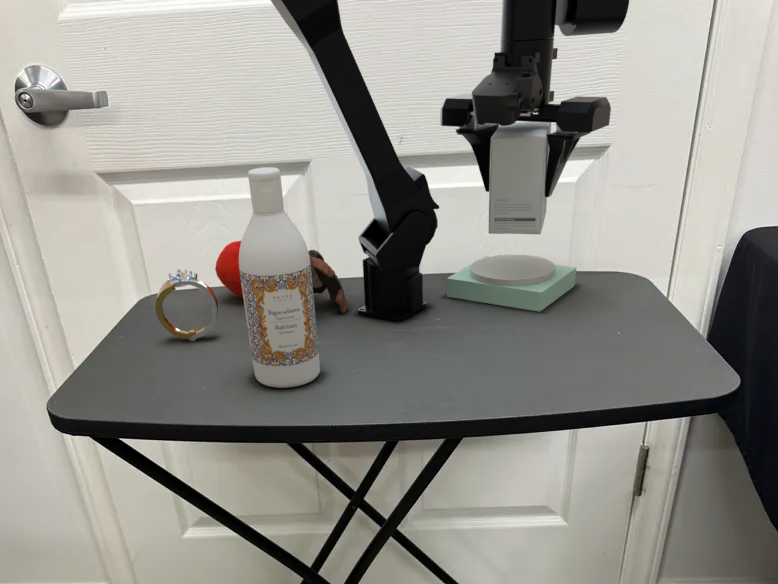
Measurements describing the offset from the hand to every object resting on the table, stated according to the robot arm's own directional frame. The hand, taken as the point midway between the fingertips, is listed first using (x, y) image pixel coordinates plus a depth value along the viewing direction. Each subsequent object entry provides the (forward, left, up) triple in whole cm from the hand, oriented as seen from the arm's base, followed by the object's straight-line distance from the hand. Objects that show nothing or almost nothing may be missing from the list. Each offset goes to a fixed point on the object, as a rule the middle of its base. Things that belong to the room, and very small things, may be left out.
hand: (517, 193), depth 93 cm
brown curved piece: (-21, -16, -12) cm, 29 cm away
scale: (0, +1, -12) cm, 12 cm away
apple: (-31, -16, -12) cm, 37 cm away
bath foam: (-9, -34, -12) cm, 37 cm away
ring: (-26, -31, -12) cm, 43 cm away
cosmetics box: (0, 0, -4) cm, 4 cm away
